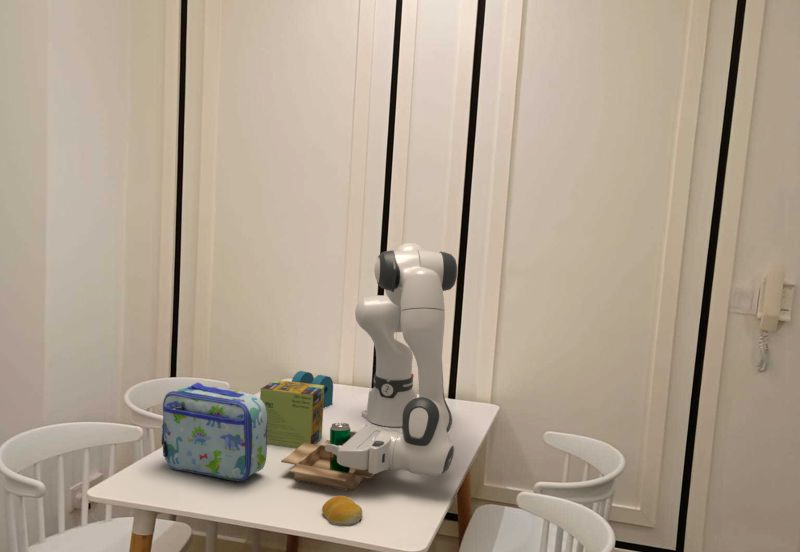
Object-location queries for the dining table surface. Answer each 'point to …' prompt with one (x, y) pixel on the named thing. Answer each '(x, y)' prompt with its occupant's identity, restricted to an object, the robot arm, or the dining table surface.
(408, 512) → the dining table surface
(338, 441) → the soda can
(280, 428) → the protein box
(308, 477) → the carton
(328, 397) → the camera mount
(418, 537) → the dining table surface
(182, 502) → the dining table surface
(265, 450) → the lunch box
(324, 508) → the bread roll
